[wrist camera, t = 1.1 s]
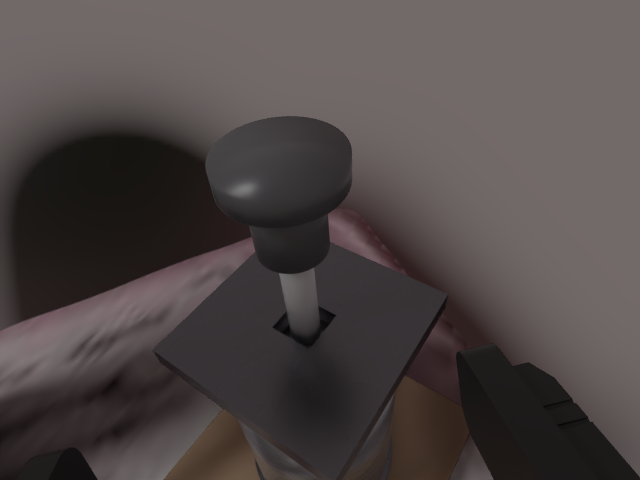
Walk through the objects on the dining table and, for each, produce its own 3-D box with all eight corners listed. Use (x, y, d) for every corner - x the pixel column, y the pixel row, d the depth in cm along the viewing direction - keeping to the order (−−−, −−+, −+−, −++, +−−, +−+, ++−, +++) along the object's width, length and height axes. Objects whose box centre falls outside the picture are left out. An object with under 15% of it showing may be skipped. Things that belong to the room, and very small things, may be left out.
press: (206, 453, 36) (126, 331, 23) (290, 350, 42) (260, 211, 30) (345, 566, 30) (334, 481, 18) (418, 427, 36) (448, 294, 24)
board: (166, 488, 35) (160, 482, 34) (301, 326, 45) (300, 317, 44) (363, 668, 27) (363, 667, 26) (474, 422, 37) (477, 415, 36)
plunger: (237, 344, 23) (174, 169, 16) (296, 279, 26) (268, 105, 18) (318, 395, 21) (292, 221, 13) (373, 318, 24) (378, 137, 16)
